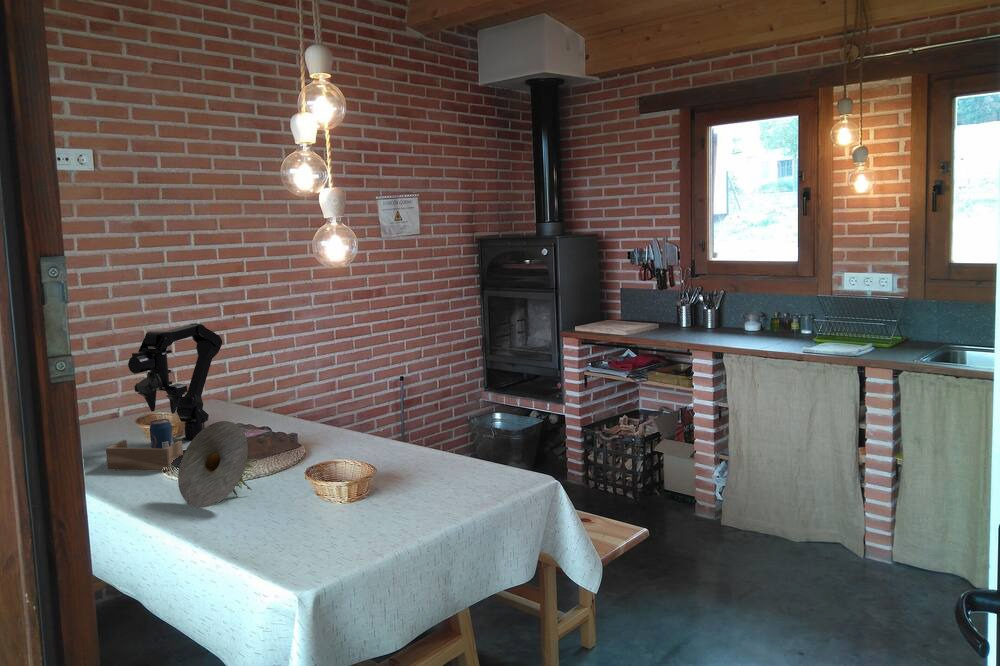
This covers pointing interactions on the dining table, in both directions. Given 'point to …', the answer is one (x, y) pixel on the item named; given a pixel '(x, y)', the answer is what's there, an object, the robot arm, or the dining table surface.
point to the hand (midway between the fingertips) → (163, 412)
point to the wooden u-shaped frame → (141, 457)
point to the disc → (214, 464)
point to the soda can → (161, 433)
